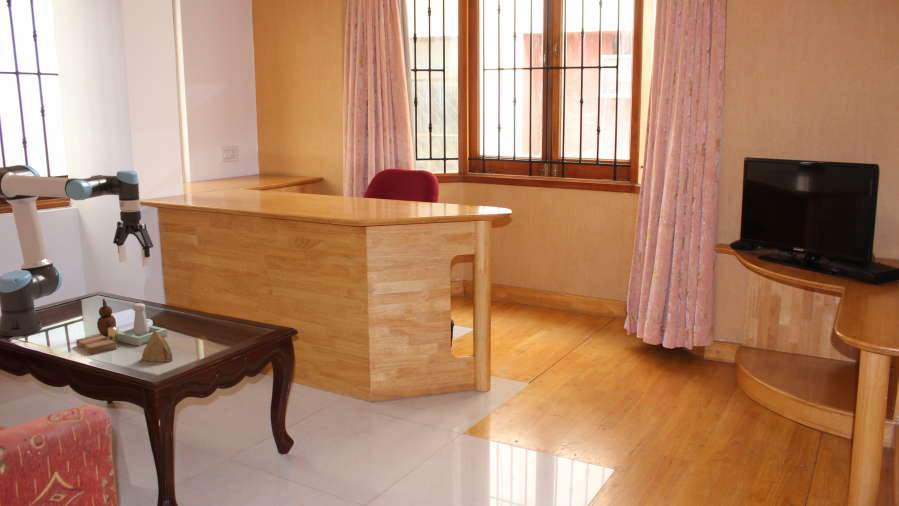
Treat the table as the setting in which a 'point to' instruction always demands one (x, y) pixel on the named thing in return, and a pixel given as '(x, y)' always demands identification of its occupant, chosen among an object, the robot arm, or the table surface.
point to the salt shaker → (140, 320)
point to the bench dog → (112, 334)
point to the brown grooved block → (96, 344)
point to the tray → (130, 337)
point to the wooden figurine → (105, 319)
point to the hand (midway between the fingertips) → (134, 263)
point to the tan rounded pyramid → (157, 349)
